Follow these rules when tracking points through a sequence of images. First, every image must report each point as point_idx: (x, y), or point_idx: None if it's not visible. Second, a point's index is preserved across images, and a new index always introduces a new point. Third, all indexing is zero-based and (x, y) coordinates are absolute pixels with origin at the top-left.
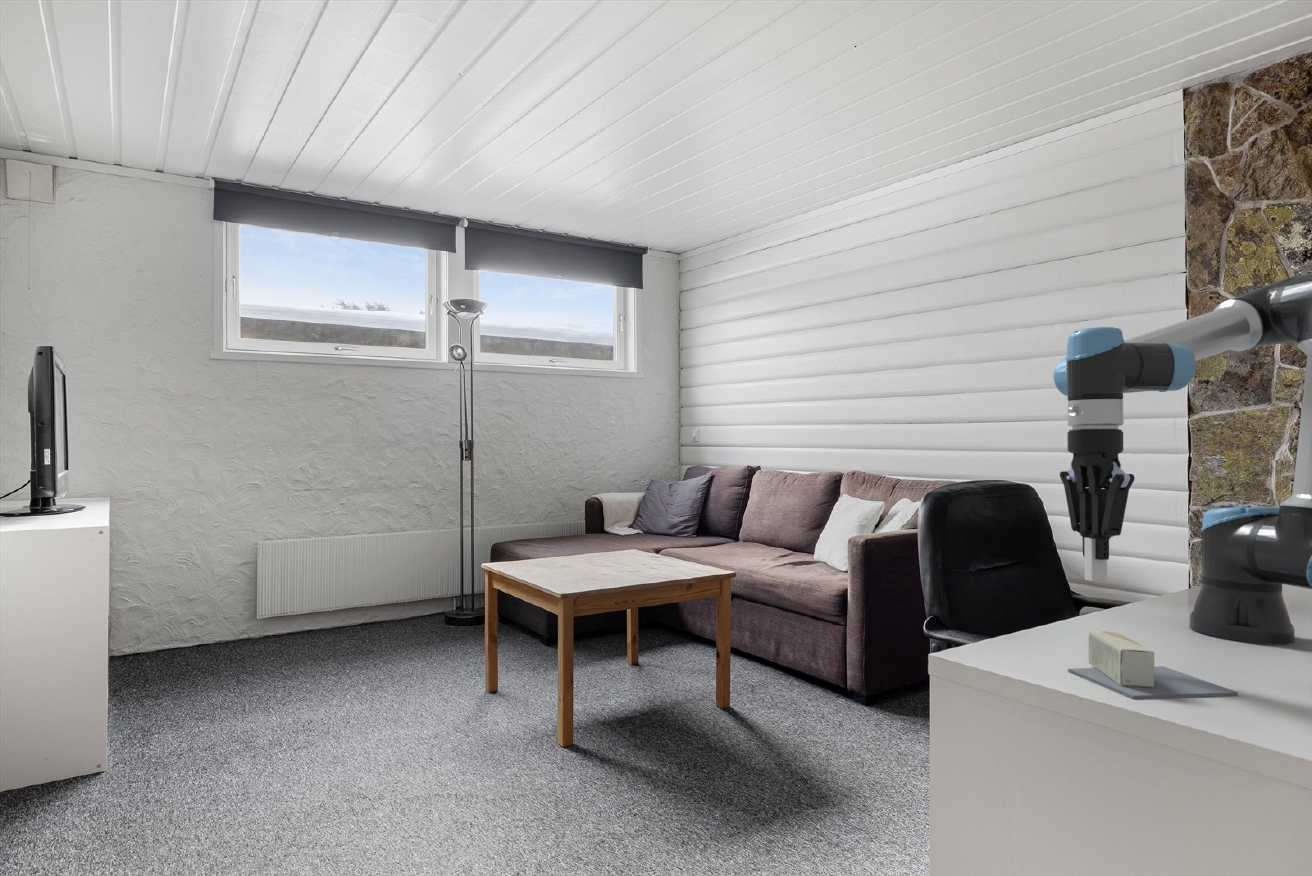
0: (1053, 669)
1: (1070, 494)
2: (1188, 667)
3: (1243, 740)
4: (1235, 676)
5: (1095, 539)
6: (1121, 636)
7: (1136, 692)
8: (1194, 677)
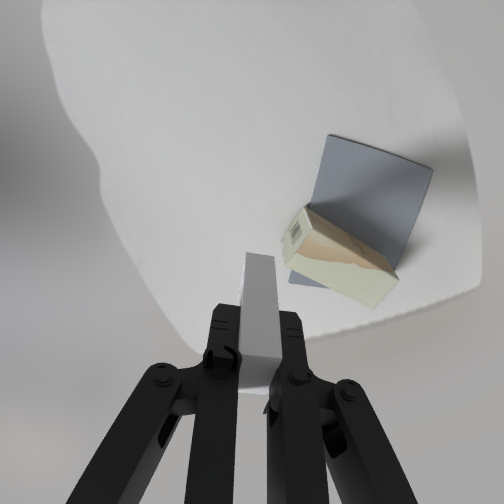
0: None
1: None
2: (332, 83)
3: (457, 292)
4: (385, 69)
5: (270, 384)
6: (334, 251)
7: None
8: (381, 153)
